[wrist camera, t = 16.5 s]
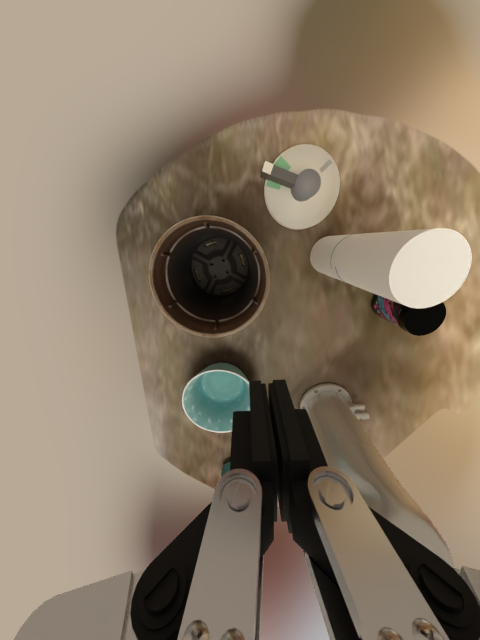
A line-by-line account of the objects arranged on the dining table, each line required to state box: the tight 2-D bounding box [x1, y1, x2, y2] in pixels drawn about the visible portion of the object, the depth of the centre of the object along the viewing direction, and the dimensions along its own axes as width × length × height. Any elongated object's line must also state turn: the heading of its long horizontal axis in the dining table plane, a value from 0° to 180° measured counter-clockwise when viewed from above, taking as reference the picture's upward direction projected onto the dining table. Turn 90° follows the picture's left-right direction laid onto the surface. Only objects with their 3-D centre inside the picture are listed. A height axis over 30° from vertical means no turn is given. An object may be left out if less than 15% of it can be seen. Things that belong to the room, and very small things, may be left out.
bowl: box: [182, 363, 250, 433], centre depth 50 cm, size 16×16×8 cm
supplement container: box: [372, 295, 446, 336], centre depth 42 cm, size 7×7×10 cm
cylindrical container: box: [310, 228, 472, 309], centre depth 32 cm, size 7×7×25 cm
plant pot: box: [149, 215, 270, 337], centre depth 37 cm, size 16×16×16 cm
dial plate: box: [264, 144, 340, 230], centre depth 39 cm, size 13×13×2 cm
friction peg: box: [261, 161, 321, 202], centre depth 36 cm, size 10×4×4 cm, turn 72°
